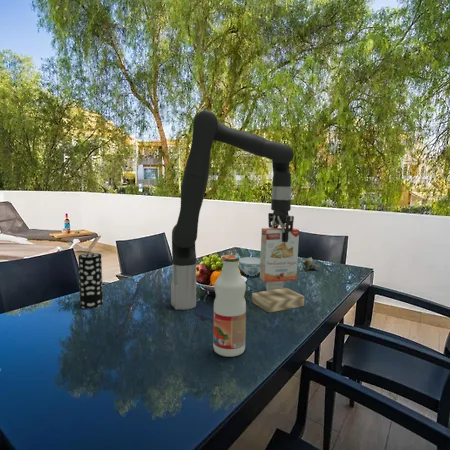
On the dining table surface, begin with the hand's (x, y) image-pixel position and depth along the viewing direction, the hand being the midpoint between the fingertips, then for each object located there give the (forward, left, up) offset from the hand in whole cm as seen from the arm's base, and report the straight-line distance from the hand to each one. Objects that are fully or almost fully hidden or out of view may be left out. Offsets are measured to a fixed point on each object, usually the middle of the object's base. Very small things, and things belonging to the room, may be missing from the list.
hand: (279, 240), depth 134 cm
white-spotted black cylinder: (-68, +30, -26) cm, 79 cm away
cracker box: (0, 0, -16) cm, 16 cm away
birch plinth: (0, 0, -26) cm, 26 cm away
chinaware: (+13, +43, -26) cm, 52 cm away
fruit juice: (-35, -25, -26) cm, 50 cm away
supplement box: (+8, +14, -26) cm, 31 cm away
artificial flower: (+42, +38, -27) cm, 63 cm away
